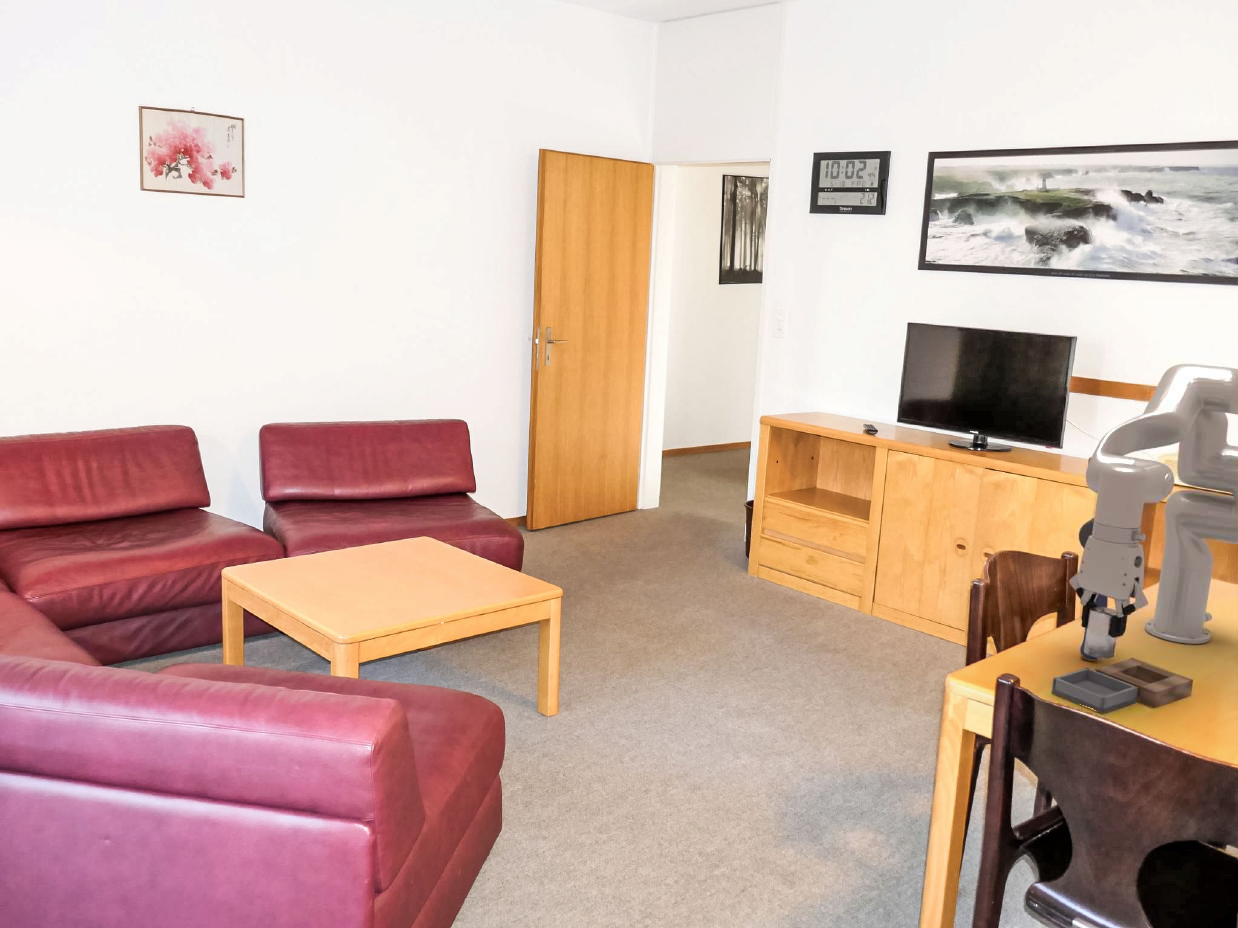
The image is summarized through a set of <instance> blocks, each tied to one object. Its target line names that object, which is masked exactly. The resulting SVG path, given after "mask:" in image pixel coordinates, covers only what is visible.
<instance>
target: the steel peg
mask: <svg viewBox="0 0 1238 928" xmlns="http://www.w3.org/2000/svg"><path fill="white" fill-rule="evenodd" d="M1115 615H1116V609H1112V608H1110V607H1107V608H1105V607H1092V608H1090V610H1089V617H1088V625H1087V632H1086V639H1085V647H1084V652H1085V653H1086V654H1088V655H1090V656H1093V657H1096V658H1098V659H1105V660H1110V659H1113V658H1114V657H1115V652H1116V645H1117V638H1118V637H1116V638H1113V637H1111V636H1110V631H1111V624H1112V617H1113V616H1115Z"/></svg>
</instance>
